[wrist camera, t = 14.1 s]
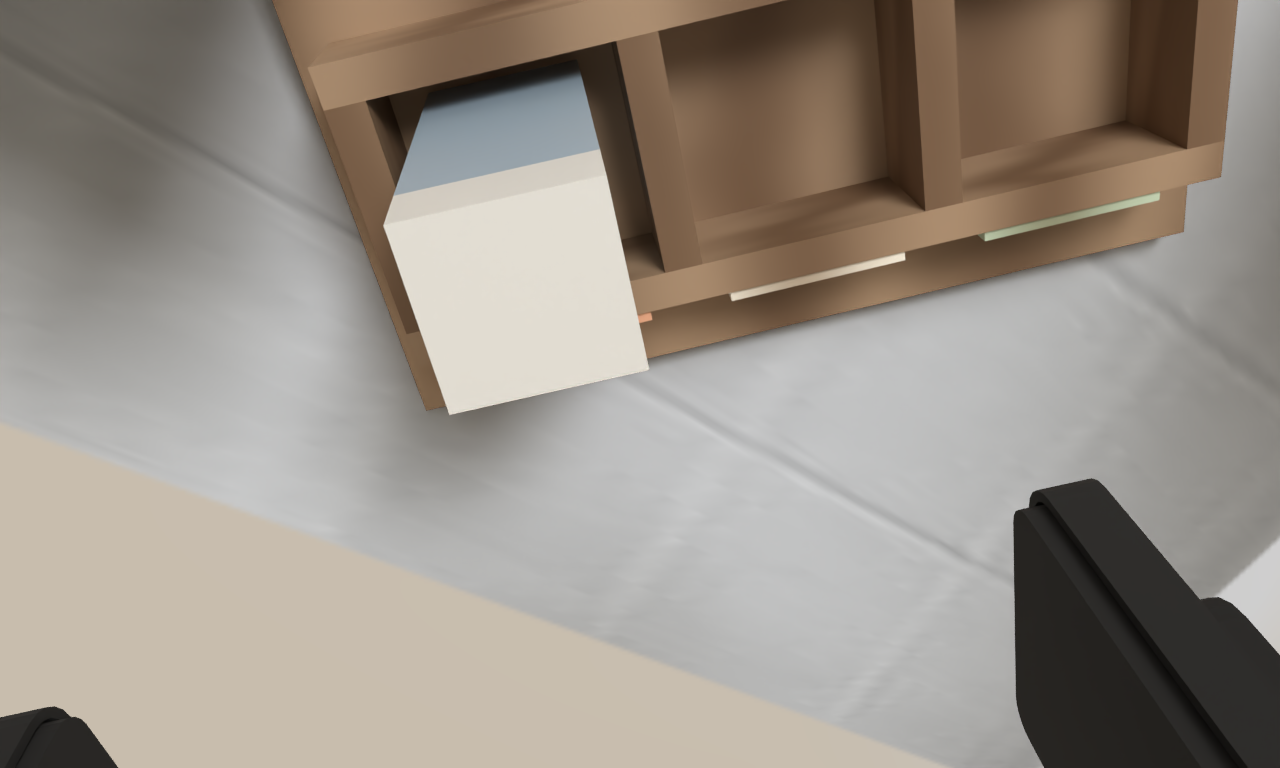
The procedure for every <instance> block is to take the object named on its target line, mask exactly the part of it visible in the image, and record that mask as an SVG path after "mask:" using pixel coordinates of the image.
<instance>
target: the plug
mask: <svg viewBox="0 0 1280 768" xmlns="http://www.w3.org/2000/svg"><path fill="white" fill-rule="evenodd" d="M383 226H384V229H385V232H386V234H387V237H388V240H389V243H390V246H391V249H392V252H393V254H394V257H395V260H396V263H397V266H398V269H399V272H400V275H401V277H402V280H403V283H404V286H405V289H406V292H407V295H408V297H409V300H410V303H411V306H412V309H413V312H414V315H415V318H416V320H417V323H418V326H419V329H420V332H421V335H422V338H423V341H424V343H425V346H426V349H427V352H428V355H429V358H430V361H431V363H432V366H433V369H434V372H435V375H436V378H437V381H438V384H439V386H440V389H441V392H442V395H443V398H444V401H445V404H446V406H447V409H448V412H449V415H451V414H456V413H460V412H465V411H469V410H474V409H478V408H483V407H487V406H491V405H496V404H500V403H505V402H509V401H514V400H518V399H522V398H527V397H531V396H536V395H540V394H545V393H549V392H553V391H558V390H562V389H567V388H571V387H576V386H580V385H585V384H589V383H593V382H598V381H602V380H607V379H611V378H616V377H620V376H624V375H629V374H633V373H638V372H642V371H647V370H649V366H648V361H647V357H646V352H645V348H644V343H643V338H642V334H641V329H640V325H639V320H638V316H637V311H636V307H635V302H634V298H633V293H632V289H631V284H630V279H629V275H628V270H627V266H626V261H625V257H624V252H623V248H622V243H621V239H620V234H619V229H618V225H617V220H616V216H615V211H614V207H613V202H612V198H611V193H610V189H609V184H608V180H607V175H606V171H605V167H604V163H603V159H602V155H601V151H600V147H599V144H598V140H597V136H596V132H595V128H594V124H593V120H592V116H591V112H590V108H589V104H588V100H587V96H586V92H585V89H584V85H583V81H582V77H581V73H580V69H579V65H578V61H577V59H576V60H571V61H567V62H563V63H558V64H554V65H549V66H545V67H541V68H536V69H532V70H527V71H523V72H518V73H514V74H510V75H505V76H501V77H496V78H492V79H488V80H483V81H479V82H474V83H470V84H466V85H461V86H457V87H452V88H448V89H444V90H439V91H435V92H430V93H428V96H427V99H426V102H425V105H424V108H423V111H422V114H421V117H420V120H419V123H418V125H417V128H416V131H415V134H414V137H413V140H412V143H411V146H410V149H409V152H408V155H407V158H406V161H405V163H404V166H403V169H402V172H401V175H400V178H399V181H398V184H397V187H396V190H395V193H394V196H393V199H392V201H391V204H390V207H389V210H388V213H387V216H386V219H385V222H384V225H383Z"/></svg>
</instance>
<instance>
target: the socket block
mask: <svg viewBox="0 0 1280 768" xmlns="http://www.w3.org/2000/svg"><path fill="white" fill-rule="evenodd" d="M272 2H273V4H274V7H275V10H276V12H277V15H278V18H279V20H280V23H281V26H282V28H283V31H284V34H285V36H286V39H287V42H288V44H289V47H290V50H291V52H292V55H293V58H294V60H295V63H296V66H297V68H298V71H299V74H300V76H301V79H302V81H303V84H304V87H305V89H306V92H307V95H308V97H309V100H310V103H311V105H312V108H313V111H314V113H315V116H316V119H317V121H318V124H319V127H320V129H321V132H322V135H323V137H324V140H325V143H326V145H327V148H328V151H329V153H330V156H331V159H332V161H333V164H334V167H335V169H336V172H337V175H338V177H339V180H340V183H341V185H342V188H343V190H344V193H345V196H346V198H347V201H348V204H349V206H350V209H351V212H352V214H353V217H354V220H355V222H356V225H357V228H358V230H359V233H360V236H361V238H362V241H363V244H364V246H365V249H366V252H367V254H368V257H369V260H370V262H371V265H372V268H373V270H374V273H375V276H376V278H377V281H378V284H379V286H380V289H381V291H382V294H383V297H384V299H385V302H386V305H387V307H388V310H389V313H390V315H391V318H392V321H393V323H394V326H395V329H396V331H397V334H398V337H399V339H400V342H401V345H402V347H403V350H404V353H405V355H406V358H407V361H408V363H409V366H410V369H411V371H412V374H413V377H414V379H415V382H416V385H417V387H418V390H419V393H420V395H421V398H422V400H423V403H424V406H425V408H426V411H427V410H431V409H436V408H440V407H444V406H446V404H445V401H444V398H443V395H442V392H441V389H440V386H439V384H438V381H437V378H436V375H435V372H434V369H433V366H432V363H431V361H430V358H429V355H428V352H427V349H426V346H425V343H424V341H423V338H422V335H421V332H420V329H419V326H418V323H417V320H416V318H415V315H414V312H413V309H412V306H411V303H410V300H409V297H408V295H407V292H406V289H405V286H404V283H403V280H402V277H401V275H400V272H399V269H398V266H397V263H396V260H395V257H394V254H393V252H392V249H391V246H390V243H389V240H388V237H387V234H386V232H385V229H384V226H383V225H384V222H385V219H386V216H387V213H388V210H389V207H390V204H391V201H392V199H393V196H394V193H395V190H396V187H397V184H398V181H399V178H400V175H401V172H402V169H403V166H404V163H405V161H406V158H407V155H408V152H409V149H410V146H411V143H412V140H413V137H414V134H415V131H416V128H417V125H418V123H419V120H420V117H421V114H422V111H423V108H424V105H425V102H426V99H427V96H428V93H430V92H435V91H439V90H444V89H448V88H452V87H457V86H461V85H466V84H470V83H474V82H479V81H483V80H488V79H492V78H496V77H501V76H505V75H510V74H514V73H518V72H523V71H527V70H532V69H536V68H541V67H545V66H549V65H554V64H558V63H563V62H567V61H571V60H576V59H577V61H578V65H579V69H580V73H581V77H582V81H583V85H584V89H585V92H586V96H587V100H588V104H589V108H590V112H591V116H592V120H593V124H594V128H595V132H596V136H597V140H598V144H599V147H600V151H601V155H602V159H603V163H604V167H605V171H606V175H607V180H608V184H609V189H610V193H611V198H612V202H613V207H614V211H615V216H616V220H617V225H618V229H619V234H620V239H621V243H622V248H623V252H624V257H625V261H626V266H627V270H628V275H629V279H630V284H631V289H632V293H633V298H634V302H635V307H636V311H637V316H638V320H639V325H640V329H641V334H642V338H643V343H644V348H645V352H646V357H647V358H652V357H656V356H660V355H664V354H669V353H673V352H677V351H681V350H686V349H690V348H694V347H698V346H702V345H707V344H711V343H715V342H719V341H724V340H728V339H732V338H736V337H741V336H745V335H749V334H753V333H758V332H762V331H766V330H770V329H775V328H779V327H783V326H787V325H791V324H796V323H800V322H804V321H808V320H813V319H817V318H821V317H825V316H830V315H834V314H838V313H842V312H847V311H851V310H855V309H859V308H863V307H868V306H872V305H876V304H880V303H885V302H889V301H893V300H897V299H902V298H906V297H910V296H914V295H919V294H923V293H927V292H931V291H936V290H940V289H944V288H948V287H952V286H957V285H961V284H965V283H969V282H974V281H978V280H982V279H986V278H991V277H995V276H999V275H1003V274H1008V273H1012V272H1016V271H1020V270H1024V269H1029V268H1033V267H1037V266H1041V265H1046V264H1050V263H1054V262H1058V261H1063V260H1067V259H1071V258H1075V257H1080V256H1084V255H1088V254H1092V253H1097V252H1101V251H1105V250H1109V249H1113V248H1118V247H1122V246H1126V245H1130V244H1135V243H1139V242H1143V241H1147V240H1152V239H1156V238H1160V237H1164V236H1169V235H1173V234H1177V233H1181V232H1184V220H1185V207H1186V195H1187V185H1189V184H1193V183H1197V182H1202V181H1206V180H1210V179H1214V178H1219V177H1221V171H1222V161H1223V150H1224V140H1225V130H1226V119H1227V109H1228V99H1229V88H1230V78H1231V68H1232V57H1233V47H1234V36H1235V26H1236V16H1237V5H1238V0H272Z"/></svg>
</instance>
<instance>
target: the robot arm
mask: <svg viewBox="0 0 1280 768" xmlns="http://www.w3.org/2000/svg"><path fill="white" fill-rule="evenodd" d="M1013 525H1014V592H1015V659H1016V700H1017V707H1018V711H1019V715H1020V718H1021V721H1022V724H1023V727H1024V729H1025V732H1026V734H1027V736H1028V738H1029V740H1030V742H1031V744H1032V746H1033V747H1034V749H1035V751H1036V753H1037V755H1038V757H1039V759H1040V761H1041V763H1042V764H1043V766H1044V768H1280V655H1279V654H1278V653H1277V651H1276V650H1275V649H1274V648H1273V647H1272V646H1271V645H1270V644H1269V642H1268V641H1267V640H1266V639H1265V638H1264V637H1263V636H1262V634H1261V633H1260V632H1259V631H1258V630H1257V629H1256V628H1255V627H1254V626H1253V624H1252V623H1251V622H1250V621H1249V620H1248V619H1247V618H1246V616H1244V615H1243V614H1242V613H1241V612H1240V611H1239V610H1238V609H1237V608H1236V607H1235V606H1234V605H1233V604H1231V603H1230V602H1227V601H1225V600H1223V599H1221V598H1219V597H1215V598H1206V599H1201V600H1200V599H1199V598H1198V597H1197V596H1196V594H1195V593H1194V592H1193V591H1192V590H1191V589H1190V587H1189V586H1188V585H1187V584H1186V583H1185V581H1184V580H1183V579H1182V578H1181V577H1180V576H1179V574H1178V573H1177V572H1176V571H1175V570H1174V568H1173V567H1172V566H1171V565H1170V564H1169V562H1168V561H1167V560H1166V559H1165V558H1164V557H1163V555H1162V554H1161V553H1160V552H1159V551H1158V549H1157V548H1156V547H1155V546H1154V545H1153V543H1152V542H1151V541H1150V540H1149V539H1148V538H1147V536H1146V535H1145V534H1144V533H1143V532H1142V530H1141V529H1140V528H1139V527H1138V526H1137V524H1136V523H1135V522H1134V521H1133V520H1132V519H1131V517H1130V516H1129V515H1128V514H1127V513H1126V511H1125V510H1124V509H1123V508H1122V507H1121V505H1120V504H1119V503H1118V502H1117V501H1116V500H1115V498H1114V497H1113V496H1112V495H1111V494H1110V492H1109V491H1108V490H1107V489H1106V488H1105V487H1104V486H1103V485H1102V484H1101V483H1100V482H1099V481H1098V480H1095V479H1092V478H1091V479H1087V480H1082V481H1078V482H1073V483H1069V484H1064V485H1059V486H1055V487H1050V488H1046V489H1041V490H1037V491H1034V492H1032V495H1031V497H1030V503H1029V508H1026V509H1021V510H1018V511H1016V512H1015V514H1014V522H1013ZM0 768H118V767H117V765H116V764H115V763H114V761H113V760H112V759H111V757H110V756H109V754H108V753H107V752H106V750H105V749H104V748H103V746H102V745H101V744H100V742H99V741H98V739H97V738H96V737H95V735H94V734H93V733H92V731H91V730H90V728H89V727H88V726H87V724H85V722H83V721H82V720H81V719H79V718H77V717H70V716H69V715H68V714H67V713H66V712H65V711H64V710H63V709H60V708H57V707H47V708H42V709H37V710H32V711H28V712H23V713H19V714H14V715H9V716H5V717H1V718H0Z"/></svg>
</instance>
